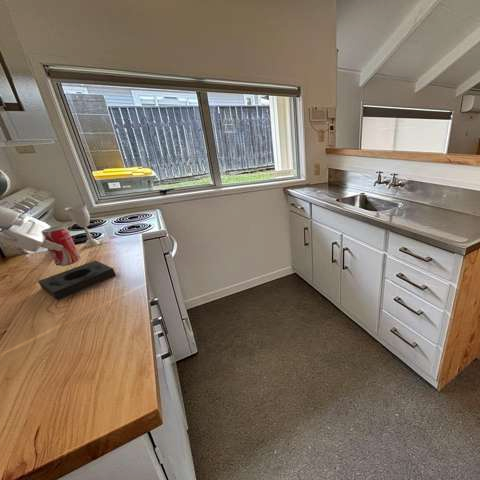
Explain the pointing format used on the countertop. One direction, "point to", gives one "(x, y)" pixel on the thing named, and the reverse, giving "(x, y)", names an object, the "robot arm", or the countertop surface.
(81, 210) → the chalice
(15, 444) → the countertop surface
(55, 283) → the dock pad
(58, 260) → the beverage can
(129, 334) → the countertop surface
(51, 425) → the countertop surface
